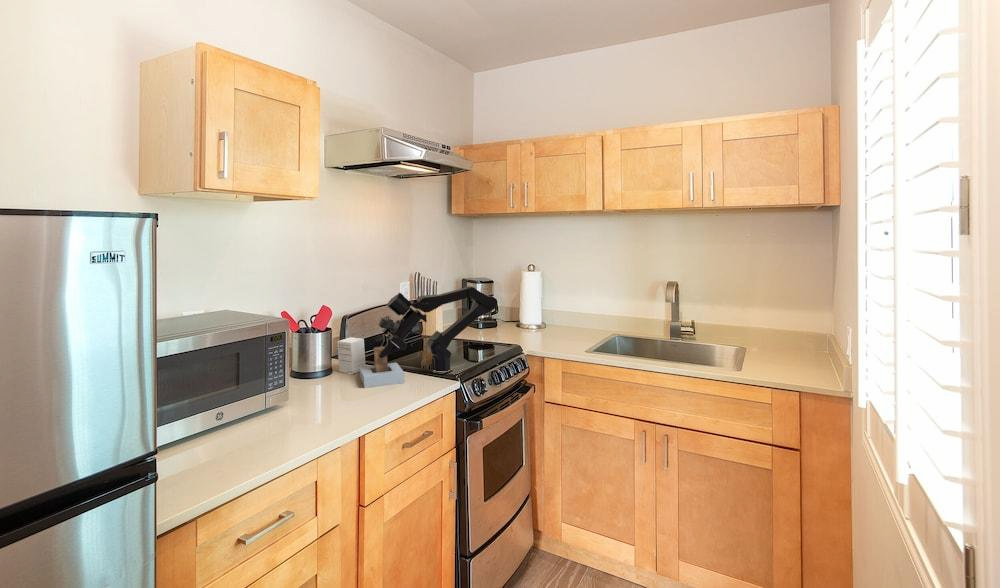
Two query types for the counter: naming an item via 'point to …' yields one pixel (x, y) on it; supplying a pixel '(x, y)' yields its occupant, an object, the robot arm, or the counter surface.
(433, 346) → the robot arm
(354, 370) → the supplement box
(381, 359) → the walnut post
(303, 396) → the counter surface
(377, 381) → the well block
